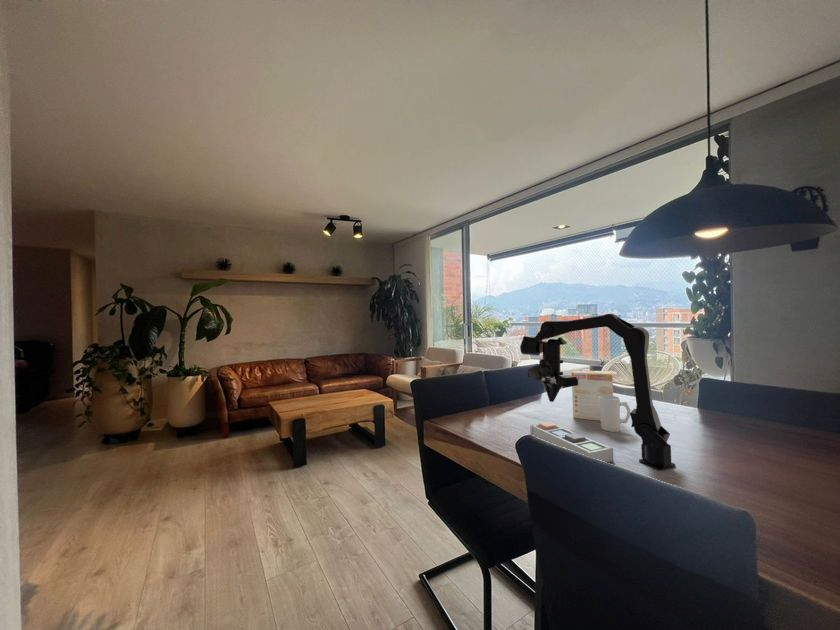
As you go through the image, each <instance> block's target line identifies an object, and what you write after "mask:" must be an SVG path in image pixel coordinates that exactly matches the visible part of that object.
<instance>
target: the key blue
mask: <svg viewBox="0 0 840 630" xmlns="http://www.w3.org/2000/svg"><path fill="white" fill-rule="evenodd" d="M551 434H554V435H556V436H558V437H560V436H565V435H566V434H569V433H566V432H564V431H562V430H559V431H554V432H551Z"/></svg>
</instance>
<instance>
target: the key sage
mask: <svg viewBox="0 0 840 630" xmlns="http://www.w3.org/2000/svg"><path fill="white" fill-rule="evenodd" d="M580 447H582V448H584V449H587V450H589V451H594V450H599V449H602V447H599V446H597V445H594V444H592V443H589V444H584V445H580Z"/></svg>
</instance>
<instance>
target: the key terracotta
mask: <svg viewBox="0 0 840 630" xmlns="http://www.w3.org/2000/svg"><path fill="white" fill-rule="evenodd" d="M538 424H539V428H540V429H543V430H545V431H546V430H552V429H556V425H557V424H555V423H553V422H551V423H550V421H543V422H538Z"/></svg>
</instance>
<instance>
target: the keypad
mask: <svg viewBox="0 0 840 630" xmlns="http://www.w3.org/2000/svg"><path fill="white" fill-rule="evenodd" d="M549 422H550V421H549ZM550 423H552V422H550ZM555 425H556V429H552V430H546V431H545V430H543V429H540V428H539V423H538V424H532V425H529V428H530V429H529V430H530V436H531V435H534V436H535V437H538V438H540V439H543V440H545V441H548V442H550V443H553V444H556V445H558V446H561V447H565V448H567V449H570V450H573V451H575V452H578V453H581V454H584V455H586V456H589V457H592V458H595V459H599V460H602V461H605V462H609V463H612V462H614V447H612V446H610V447H609V446H607V445H605V444H603V443H600V442H598V441H596V440H593V439H592V438H588V437H586V436H584V437H585V441H584V442H579V443H574V444H573V443H571V442H569V441H567V440H565V436H560V437H558V436H556V435H554V434H551V432H554V431H559V430H562V431H564V432H566V433H569V434H571V433H575V432H574V431H572V430H569V429H566V428H564V427H563V426H559V425H557V424H555ZM589 443H592V444H594V445H597V446H599V447H602V449H599V450H594V451H589V450H587V449H584V448H582V447H580V445H584V444H589Z"/></svg>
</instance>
